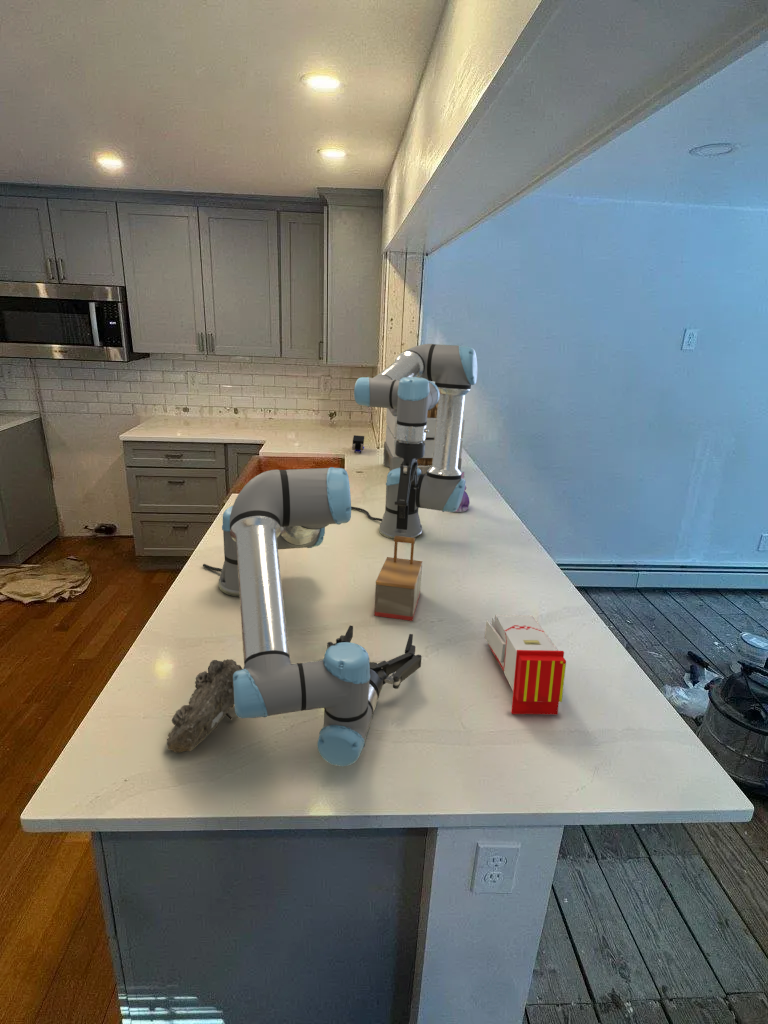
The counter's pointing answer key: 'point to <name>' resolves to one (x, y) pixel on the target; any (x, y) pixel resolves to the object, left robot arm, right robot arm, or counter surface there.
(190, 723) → the fossil
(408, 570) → the lid
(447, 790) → the counter surface
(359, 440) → the figurine character
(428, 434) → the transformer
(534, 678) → the toy
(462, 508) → the figurine
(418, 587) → the chest
